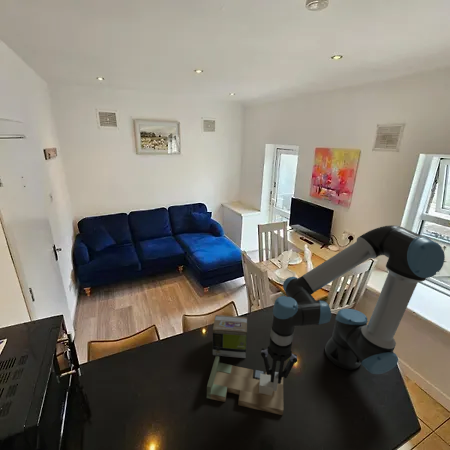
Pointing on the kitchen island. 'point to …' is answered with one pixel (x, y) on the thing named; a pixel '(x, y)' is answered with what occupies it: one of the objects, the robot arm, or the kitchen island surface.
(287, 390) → the kitchen island surface
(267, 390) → the cream block
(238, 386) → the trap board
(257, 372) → the block
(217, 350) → the tea box
